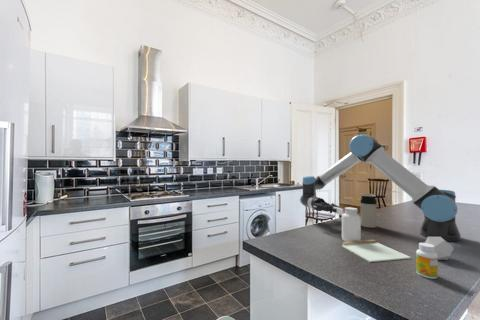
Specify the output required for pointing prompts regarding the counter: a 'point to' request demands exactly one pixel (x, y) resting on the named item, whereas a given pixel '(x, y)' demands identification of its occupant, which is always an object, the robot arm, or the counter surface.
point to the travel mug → (368, 211)
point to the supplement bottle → (427, 261)
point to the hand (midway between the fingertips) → (341, 211)
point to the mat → (375, 252)
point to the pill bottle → (351, 225)
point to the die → (440, 247)
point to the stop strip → (358, 242)
